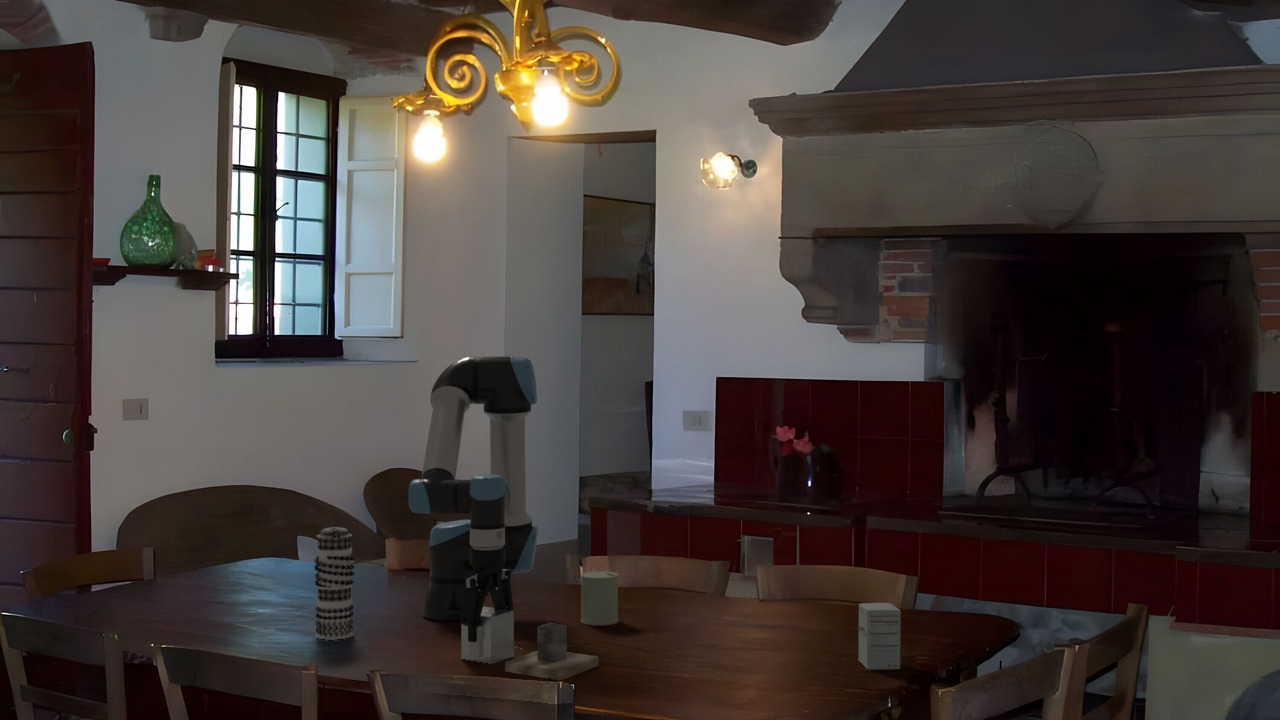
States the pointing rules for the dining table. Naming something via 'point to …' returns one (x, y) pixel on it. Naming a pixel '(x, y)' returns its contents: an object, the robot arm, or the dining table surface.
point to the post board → (550, 667)
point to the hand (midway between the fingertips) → (487, 652)
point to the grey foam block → (492, 636)
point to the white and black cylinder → (334, 584)
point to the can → (599, 598)
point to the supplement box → (879, 636)
